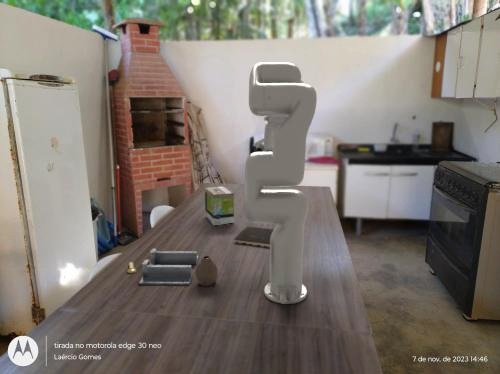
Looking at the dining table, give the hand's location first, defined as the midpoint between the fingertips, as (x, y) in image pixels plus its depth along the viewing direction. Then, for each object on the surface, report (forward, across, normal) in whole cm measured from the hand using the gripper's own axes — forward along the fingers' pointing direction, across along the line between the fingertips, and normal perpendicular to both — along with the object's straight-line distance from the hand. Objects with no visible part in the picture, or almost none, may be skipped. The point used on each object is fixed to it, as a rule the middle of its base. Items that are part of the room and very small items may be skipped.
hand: (276, 164), depth 147 cm
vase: (+31, -23, -38) cm, 54 cm away
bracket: (+31, -36, -29) cm, 55 cm away
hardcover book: (+32, -4, -1) cm, 32 cm away
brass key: (+31, -50, -28) cm, 65 cm away
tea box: (+31, -25, +23) cm, 46 cm away
